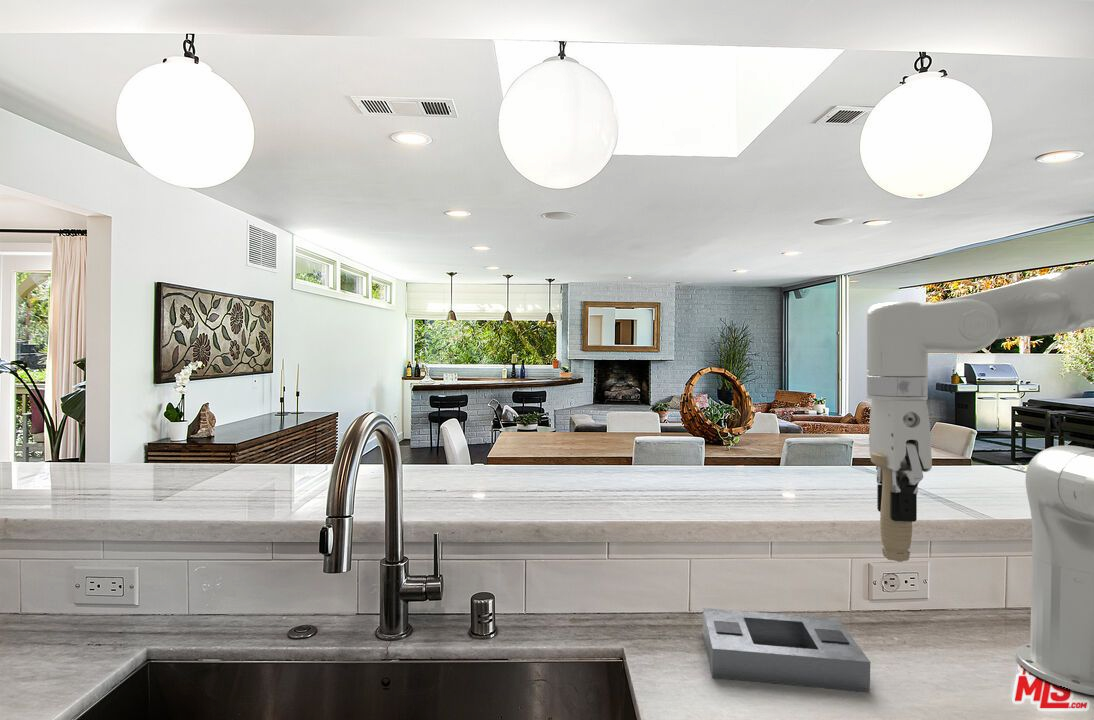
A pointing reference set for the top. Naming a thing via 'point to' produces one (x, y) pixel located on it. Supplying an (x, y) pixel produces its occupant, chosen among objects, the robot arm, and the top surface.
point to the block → (784, 650)
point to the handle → (892, 532)
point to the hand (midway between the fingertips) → (896, 515)
